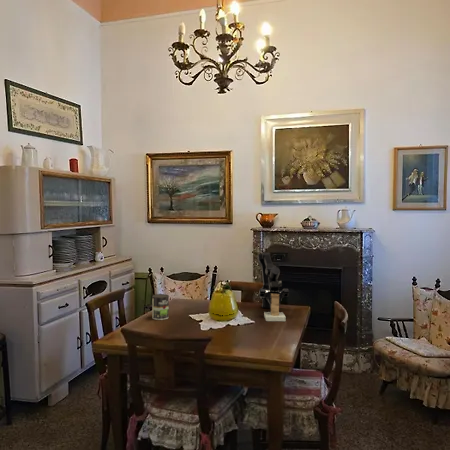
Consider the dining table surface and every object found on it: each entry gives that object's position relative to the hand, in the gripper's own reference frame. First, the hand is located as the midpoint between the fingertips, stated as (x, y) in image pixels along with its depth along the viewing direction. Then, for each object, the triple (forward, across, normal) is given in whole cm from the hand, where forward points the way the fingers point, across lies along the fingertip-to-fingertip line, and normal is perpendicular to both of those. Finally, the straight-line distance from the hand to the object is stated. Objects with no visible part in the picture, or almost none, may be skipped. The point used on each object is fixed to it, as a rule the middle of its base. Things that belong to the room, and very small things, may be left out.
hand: (275, 304), depth 270 cm
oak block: (+4, 0, +6) cm, 7 cm away
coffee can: (+6, -72, +8) cm, 73 cm away
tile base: (+6, 0, +8) cm, 10 cm away
